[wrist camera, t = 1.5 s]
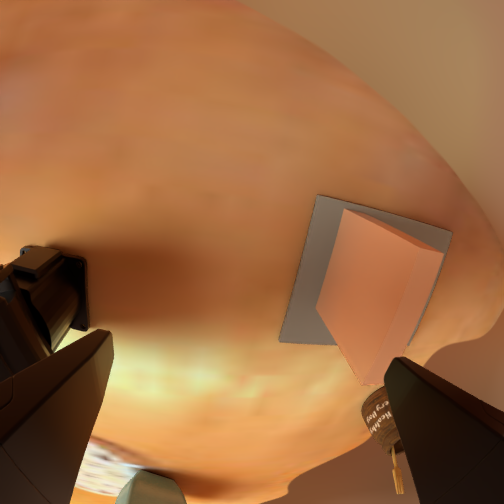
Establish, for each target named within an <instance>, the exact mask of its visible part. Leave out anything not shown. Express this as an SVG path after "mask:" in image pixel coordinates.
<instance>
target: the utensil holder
mask: <svg viewBox="0 0 504 504" xmlns="http://www.w3.org/2000/svg"><path fill="white" fill-rule="evenodd" d="M362 416H363V419H364V421H365V423H366V425H367V427H368V429H369V431H370V433H371V435H372V436H373V438H374V440H375V441H376V442H377V443H378V444H380V445H382V449H383V451H384V452H385V453H386V454H387V455H388V456H392V457H393V463H394V469H393V476H394V481H395V486H396V491H397V494H399V493H400V494H401V493H402V494H404V488H403V480H402V474H401V470H400V469H399V467H398V465H397V460H396V455H399V454H401V453H403V452H404V449H403V445H402V442H401V440H400V437H399V434H398V431H397V428H396V425H395V422H394V419H393V416H392V412H391V408H390V404H389V400H388V396H387V392H386V389H385V387H382V388H380V389H379V390H377V391H376V392H374V393H373V394H372V395H371V396H369V397H368V399H367V400H366V401H365V402H364V404H363V406H362Z"/></svg>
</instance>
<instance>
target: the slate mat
mask: <svg viewBox="0 0 504 504" xmlns="http://www.w3.org/2000/svg"><path fill="white" fill-rule="evenodd" d="M344 209H349V210H353V211H357V212H361V213H365V214H367V215H369V216H371V217H373V218H375V219H378V220H380V221H382V222H384V223H386V224H388V225H390V226H392V227H394V228H396V229H398V230H400V231H402V232H404V233H406V234H408V235H410V236H412V237H414V238H416V239H418V240H419V241H421V242H423V243H425V244H427V245H429V246H431V247H433V248H435V249H436V250H438V251H440V252H442V253H444V256H443V259H442V262H441V265H440V267H439V270H438V273H437V276H436V279H435V281H434V284H433V287H432V289H431V292H430V294H429V297H428V299H427V302H426V304H425V306H424V309H423V311H422V313H421V316H420V318H419V320H418V323H417V325H416V327H415V329H414V331H413V333H412V336H411V338H410V340H409V342H408V344H407V346H409V345H410V343H411V341H412V338H413V336H414V334H415V332H416V330H417V328H418V326H419V324H420V321H421V319H422V317H423V314H424V312H425V310H426V308H427V305H428V303H429V300H430V298H431V295H432V293H433V290H434V288H435V285H436V282H437V280H438V277H439V274H440V272H441V269H442V266H443V263H444V260H445V257H446V254H447V251H448V248H449V245H450V241H451V238H452V235H453V232H451V231H448V230H445V229H442V228H438V227H435V226H432V225H429V224H426V223H422V222H419V221H416V220H412V219H409V218H406V217H402V216H399V215H395V214H392V213H388V212H385V211H381V210H377V209H374V208H370V207H366V206H362V205H358V204H354V203H350V202H347V201H342V200H338V199H334V198H330V197H326V196H322V195H317V197H316V201H315V206H314V210H313V214H312V218H311V222H310V226H309V230H308V234H307V238H306V242H305V246H304V250H303V254H302V257H301V261H300V265H299V269H298V272H297V276H296V280H295V283H294V287H293V291H292V294H291V298H290V301H289V305H288V308H287V312H286V315H285V319H284V322H283V326H282V329H281V332H280V336H279V339H278V340H279V342H283V343H298V344H316V345H337V343H336V341H335V340H334V338H333V336H332V335H331V333H330V331H329V330H328V328H327V326H326V325H325V323H324V321H323V320H322V318H321V317H320V315H319V313H318V312H317V310H316V308H315V307H316V304H317V301H318V298H319V295H320V292H321V288H322V285H323V282H324V279H325V275H326V272H327V269H328V265H329V262H330V258H331V255H332V251H333V248H334V244H335V241H336V237H337V233H338V229H339V226H340V222H341V218H342V214H343V210H344Z"/></svg>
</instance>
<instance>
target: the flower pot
mask: <svg viewBox="0 0 504 504" xmlns="http://www.w3.org/2000/svg"><path fill="white" fill-rule="evenodd" d="M115 504H187V503H186V500H185V497H184V495H183V493H182V491H181V489H180V488H179V486H178V485H177V484H176V483H175V481H174V480H172V479H169V478H165V477H162V476H159V475H155V474H152V473H150V472H147V471H143V470H140V471H138V472H137V473H136V475H135V476H134V477H133V478H132V479H131V480H130V481H129V482H128V483H127V484H126V485H125V486H124V488H123V489H122V490H121V492H120V493H119V495H118V497H117V499H116V502H115Z"/></svg>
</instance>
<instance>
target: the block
mask: <svg viewBox="0 0 504 504" xmlns="http://www.w3.org/2000/svg"><path fill="white" fill-rule="evenodd" d="M443 256H444V253H442V252H440V251H438V250H436V249H435V248H433V247H431V246H429V245H427V244H425V243H423V242H421V241H419V240H418V239H416V238H414V237H412V236H410V235H408V234H406V233H404V232H402V231H400V230H398V229H396V228H394V227H392V226H390V225H388V224H386V223H384V222H382V221H380V220H378V219H375V218H373V217H371V216H369V215H367V214H365V213H361V212H357V211H353V210H349V209H344V210H343V214H342V218H341V222H340V226H339V229H338V233H337V237H336V241H335V244H334V248H333V251H332V255H331V258H330V262H329V265H328V269H327V272H326V275H325V279H324V282H323V285H322V288H321V292H320V295H319V298H318V301H317V304H316V307H315V308H316V310H317V312H318V313H319V315H320V317H321V318H322V320H323V321H324V323H325V325H326V326H327V328H328V330H329V331H330V333H331V335H332V336H333V338H334V340H335V341H336V343H337V345H338V347H339V348H340V350H341V352H342V353H343V355H344V357H345V358H346V360H347V362H348V363H349V365H350V367H351V369H352V370H353V372H354V374H355V375H356V377H357V379H358V380H359V382H360V384H361V385H375V384H384V374H385V372H386V371H387V369H388V367H389V365H390V363H391V361H392V359H393V358H395V357H401V356H402V354H403V352H404V350H405V348H406V346H407V344H408V342H409V340H410V338H411V336H412V333H413V331H414V329H415V327H416V325H417V323H418V320H419V318H420V316H421V313H422V311H423V309H424V306H425V304H426V302H427V299H428V297H429V294H430V292H431V289H432V287H433V284H434V281H435V279H436V276H437V273H438V270H439V267H440V265H441V262H442V259H443Z"/></svg>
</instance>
